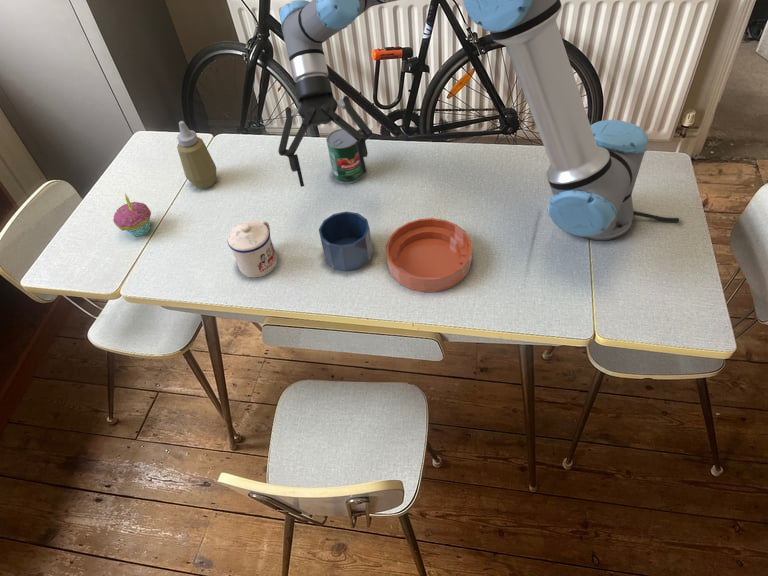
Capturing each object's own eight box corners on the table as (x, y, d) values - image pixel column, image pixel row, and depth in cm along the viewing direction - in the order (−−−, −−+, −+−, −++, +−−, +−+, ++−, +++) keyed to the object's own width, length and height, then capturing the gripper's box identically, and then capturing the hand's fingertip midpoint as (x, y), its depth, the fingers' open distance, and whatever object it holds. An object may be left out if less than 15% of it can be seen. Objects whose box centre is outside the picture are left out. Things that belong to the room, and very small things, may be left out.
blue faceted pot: (378, 241, 131) (375, 215, 125) (363, 275, 125) (359, 250, 119) (335, 234, 134) (329, 208, 128) (318, 267, 127) (311, 241, 121)
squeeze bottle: (226, 177, 151) (205, 117, 137) (205, 195, 147) (181, 135, 133) (204, 169, 154) (181, 109, 141) (183, 186, 150) (157, 127, 137)
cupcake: (164, 222, 141) (145, 184, 132) (142, 246, 137) (120, 207, 128) (137, 214, 144) (116, 176, 135) (114, 237, 139) (91, 199, 130)
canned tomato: (345, 160, 152) (339, 124, 143) (369, 170, 148) (365, 133, 140) (326, 177, 148) (319, 141, 139) (351, 187, 144) (345, 151, 136)
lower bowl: (478, 240, 129) (479, 225, 125) (460, 300, 118) (461, 286, 115) (401, 227, 133) (400, 213, 130) (377, 284, 123) (375, 270, 119)
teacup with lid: (268, 282, 126) (254, 244, 117) (231, 275, 128) (215, 237, 119) (290, 244, 133) (279, 206, 124) (255, 237, 135) (241, 199, 126)
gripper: (368, 74, 127) (388, 170, 129) (255, 96, 125) (277, 193, 127) (370, 63, 120) (391, 165, 121) (251, 86, 118) (274, 189, 119)
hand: (333, 179), depth 124 cm, fingers open, 13 cm apart
